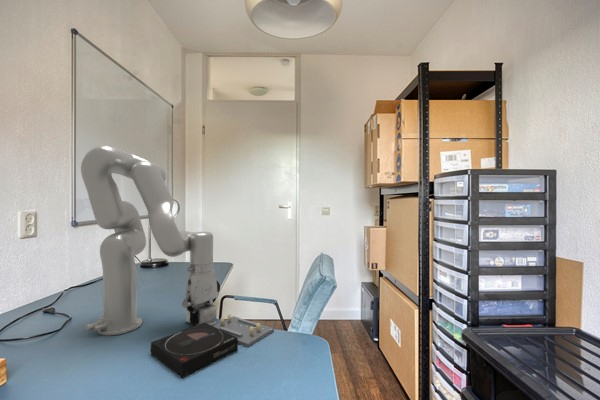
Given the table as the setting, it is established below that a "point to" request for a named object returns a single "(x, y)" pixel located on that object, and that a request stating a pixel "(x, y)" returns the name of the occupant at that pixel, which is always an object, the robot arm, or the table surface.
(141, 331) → the table surface
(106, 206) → the robot arm
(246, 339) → the grey pegged fixture plate
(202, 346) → the portable cd player
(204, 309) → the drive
